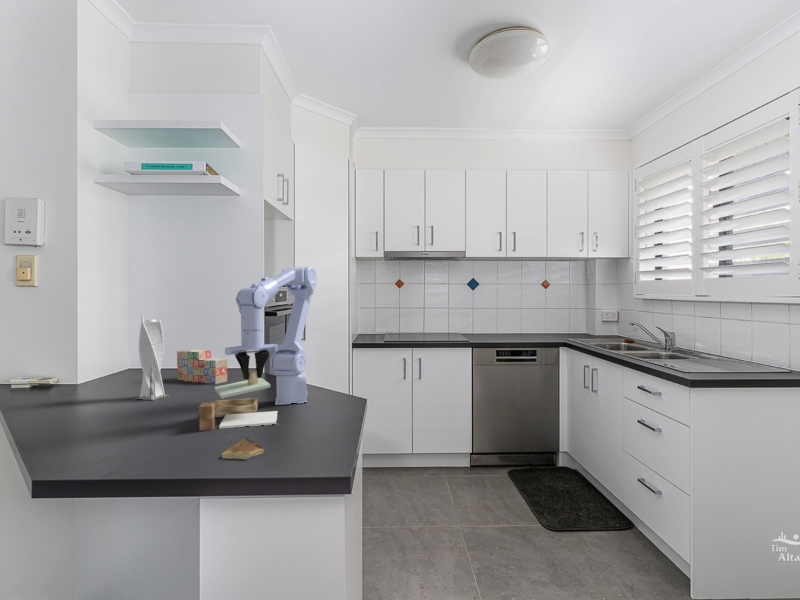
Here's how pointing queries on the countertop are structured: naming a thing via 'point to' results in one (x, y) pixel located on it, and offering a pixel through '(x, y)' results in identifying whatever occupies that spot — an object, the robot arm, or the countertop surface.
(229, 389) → the lid
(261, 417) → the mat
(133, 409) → the countertop surface
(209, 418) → the brown rectangular block
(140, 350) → the skyscraper
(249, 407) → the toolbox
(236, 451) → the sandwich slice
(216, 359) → the stack of blocks
